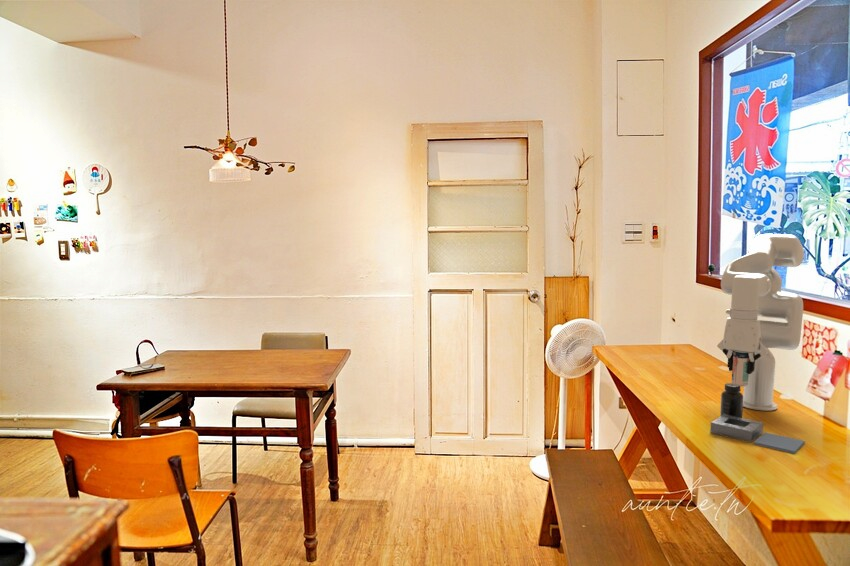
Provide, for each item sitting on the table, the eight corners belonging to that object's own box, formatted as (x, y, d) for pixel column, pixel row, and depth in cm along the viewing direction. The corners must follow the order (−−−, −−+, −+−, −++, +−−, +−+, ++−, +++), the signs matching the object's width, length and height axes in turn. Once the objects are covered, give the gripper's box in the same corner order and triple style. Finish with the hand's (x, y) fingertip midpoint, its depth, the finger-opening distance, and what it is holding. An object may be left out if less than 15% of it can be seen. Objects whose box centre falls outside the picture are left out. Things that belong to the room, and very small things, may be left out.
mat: (765, 434, 198) (765, 432, 198) (804, 443, 190) (804, 440, 190) (753, 444, 189) (753, 441, 189) (794, 453, 182) (794, 451, 182)
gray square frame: (723, 424, 207) (723, 414, 207) (762, 433, 199) (763, 422, 199) (710, 433, 199) (710, 422, 198) (751, 442, 191) (751, 431, 190)
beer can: (733, 381, 201) (735, 345, 200) (749, 384, 198) (752, 347, 197) (729, 385, 197) (731, 347, 196) (746, 387, 194) (748, 350, 193)
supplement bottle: (730, 415, 218) (732, 381, 216) (746, 420, 211) (749, 386, 210) (715, 417, 215) (717, 383, 214) (731, 423, 209) (733, 388, 208)
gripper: (711, 313, 198) (708, 369, 200) (770, 319, 187) (766, 379, 189) (719, 310, 204) (716, 365, 206) (777, 316, 192) (773, 374, 194)
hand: (740, 371), depth 197 cm, fingers closed on beer can, 4 cm apart
